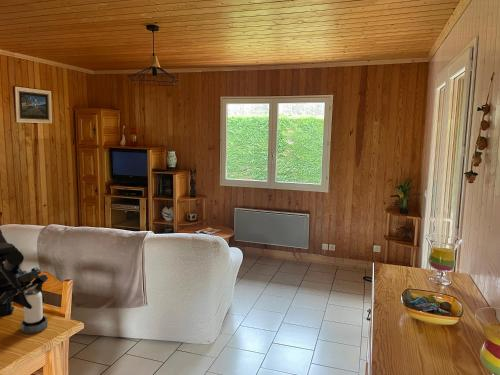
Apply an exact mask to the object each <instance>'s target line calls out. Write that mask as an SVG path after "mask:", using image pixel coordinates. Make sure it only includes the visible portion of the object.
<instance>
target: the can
mask: <svg viewBox="0 0 500 375" xmlns="http://www.w3.org/2000/svg"><path fill="white" fill-rule="evenodd" d="M42 293H43V292H42ZM42 293H41V290H39V289H31V288H30V289H27V290H25V291H24V296H25V298H26V299H27V301H28V302H29V304H30V305H31V306H32V308H31V309H28V308H26V307H24V306H23V320H24V321H25V322H26V323H36V322H39V321H40V320H41V319H42V318H43V316H44V315H43V313H44V312H43V310H44V309H43V302H42Z"/></svg>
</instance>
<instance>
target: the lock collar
mask: <svg viewBox="0 0 500 375" xmlns="http://www.w3.org/2000/svg"><path fill="white" fill-rule="evenodd" d="M47 328H48V317H47V316H45V315H43V318H42V319H41V320H40V321H39V322H36V323H26V322H25V321H24V319H22V321H20V332H21V333H22V334H25V335H34V334H38V333H42V332H43V331H45V330H47Z"/></svg>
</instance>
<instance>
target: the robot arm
mask: <svg viewBox="0 0 500 375" xmlns="http://www.w3.org/2000/svg"><path fill="white" fill-rule="evenodd" d="M24 259H25V257H24V255H23V253H22V252H21V251H20V250H19V249H18V248H17V247H16V246H15V245H14V244H13V243H9V242H7V240H6V238H5V236H4V235H3V231H2V229H1V228H0V317H1V316H5V315H6V316H8V315H12V314H13V312H14V309H15V306H13V303H14V304H17V305H19V306H22V307H23V308H24V307H26V308H28V309H31V308H32V306H31V305H30V304H29V302H28V301H27V299H26V298H25V296H24V293H25V292H26V291H28V290H31V289H39V290H41V293H42V303H44V302H45V297H44V292H43V289H42V288H43V285H44V284H45V283H46V282H47V281H48V280H49V277H48V276H47V275H46V274H41V269H40V268H39V267H38V266H35V267H33V268H31V270H30V271H26V270H22V269H21V267H22V264H23V261H24ZM40 274H41V275H40Z"/></svg>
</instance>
